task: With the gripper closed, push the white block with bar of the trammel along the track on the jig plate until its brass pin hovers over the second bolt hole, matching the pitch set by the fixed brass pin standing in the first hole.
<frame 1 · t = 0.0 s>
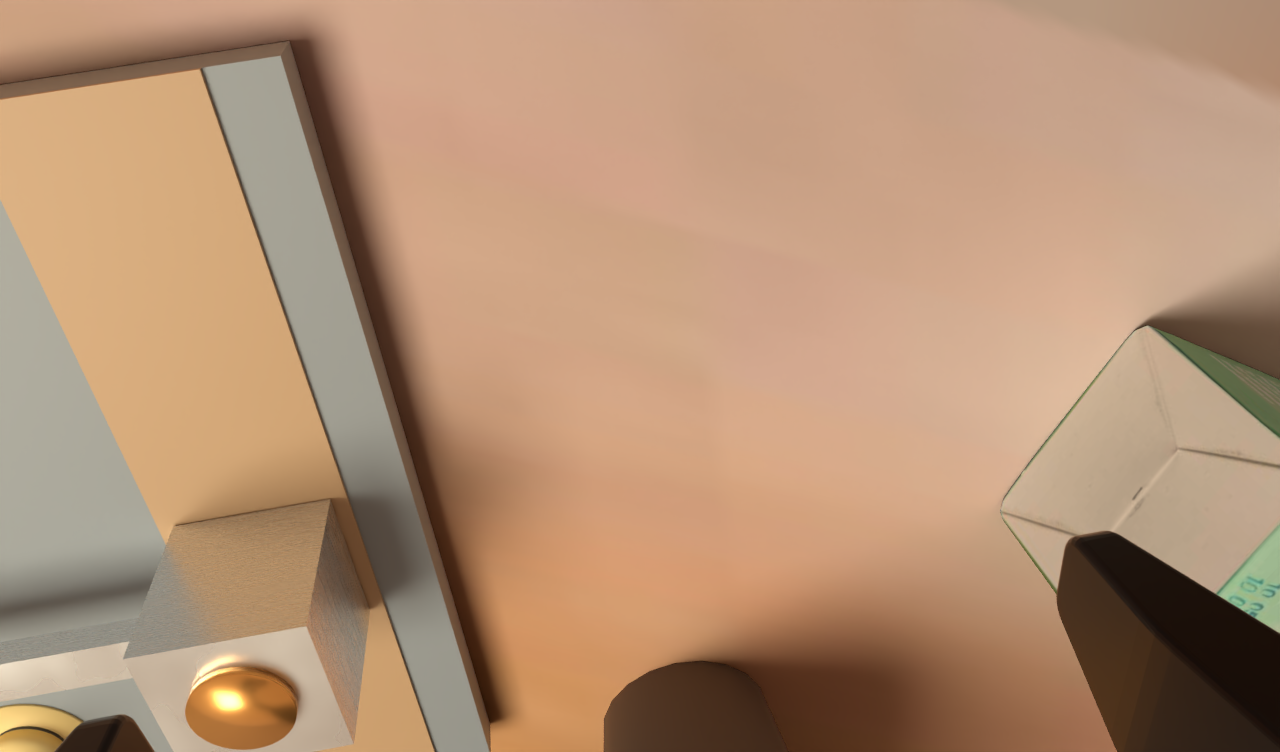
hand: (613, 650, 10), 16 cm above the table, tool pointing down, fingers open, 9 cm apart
jig plate: (128, 503, 28), on the table
white block with bar: (117, 662, 26), point 4 cm above the table, slide at 0.0 cm
coffee cup: (679, 694, 36), on the table, touching arm
box: (1222, 475, 33), on the table
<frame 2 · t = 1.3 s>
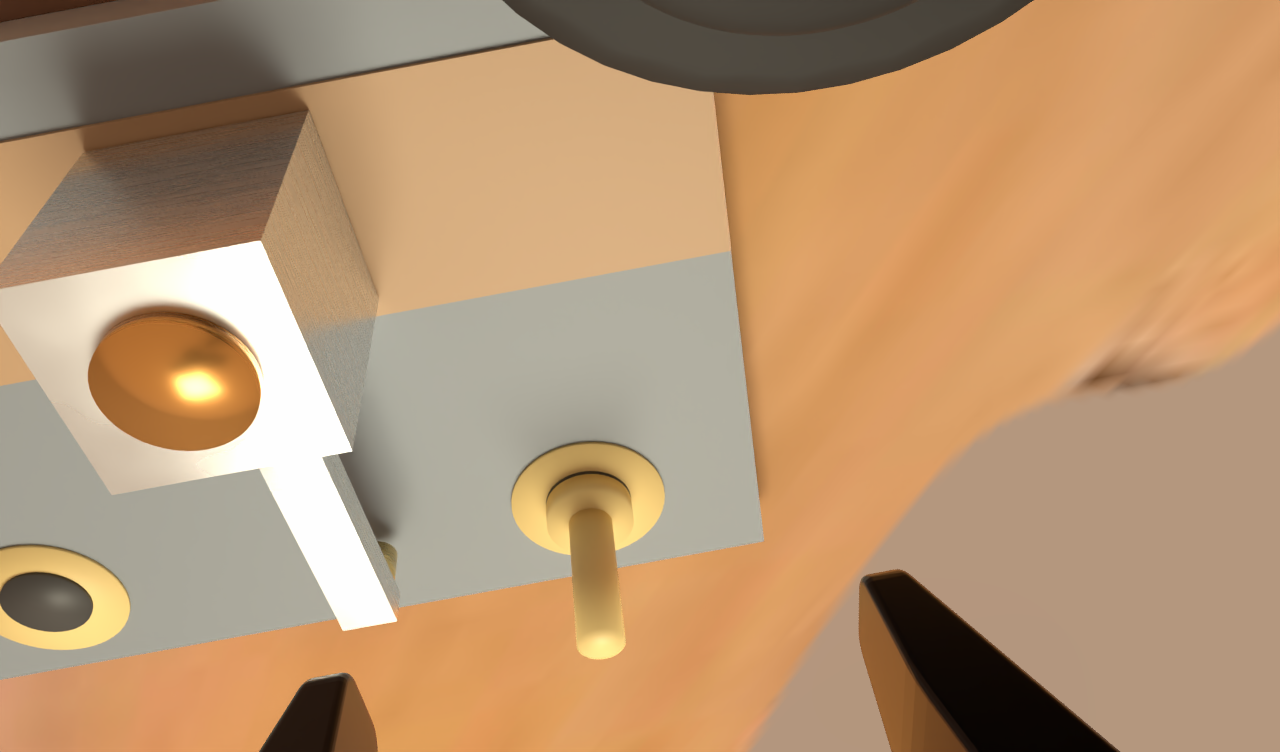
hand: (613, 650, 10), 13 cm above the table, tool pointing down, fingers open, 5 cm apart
jig plate: (224, 356, 23), on the table
white block with bar: (285, 453, 20), point 4 cm above the table, slide at 0.0 cm
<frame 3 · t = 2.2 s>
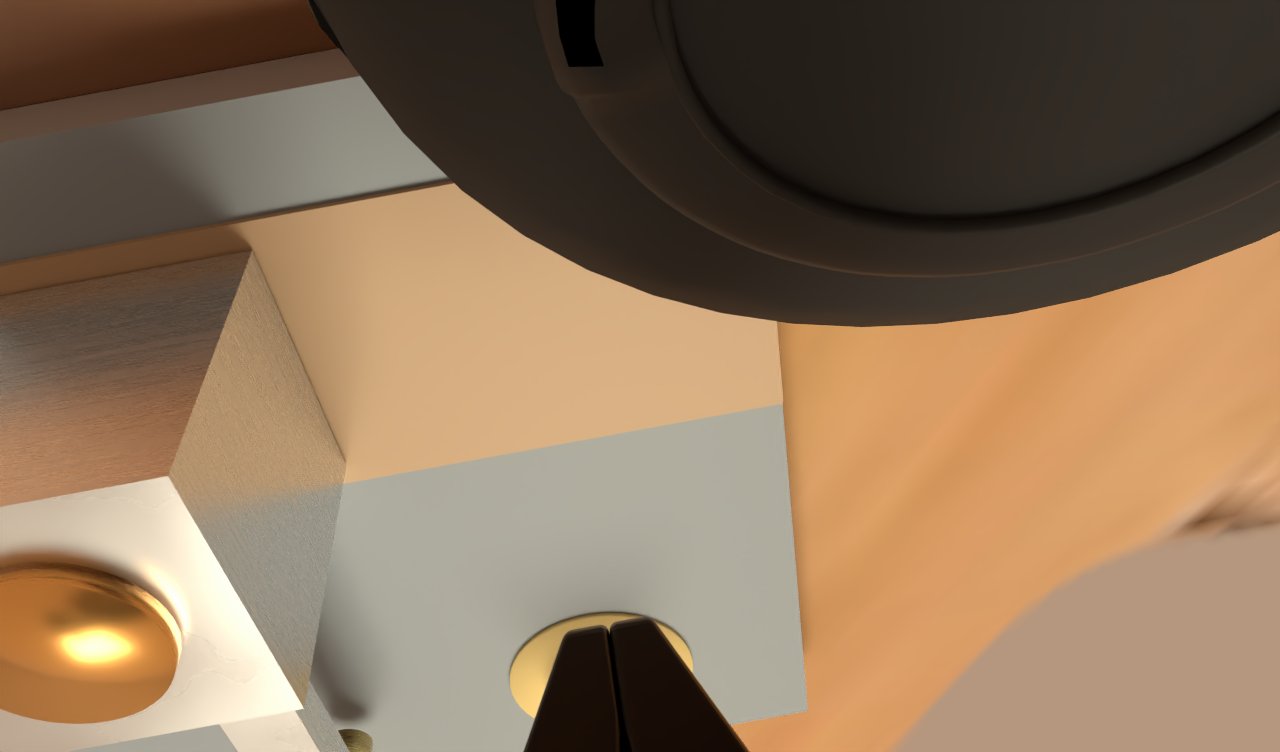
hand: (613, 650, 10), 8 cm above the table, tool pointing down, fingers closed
jig plate: (160, 516, 19), on the table
white block with bar: (226, 670, 16), point 4 cm above the table, slide at 0.0 cm
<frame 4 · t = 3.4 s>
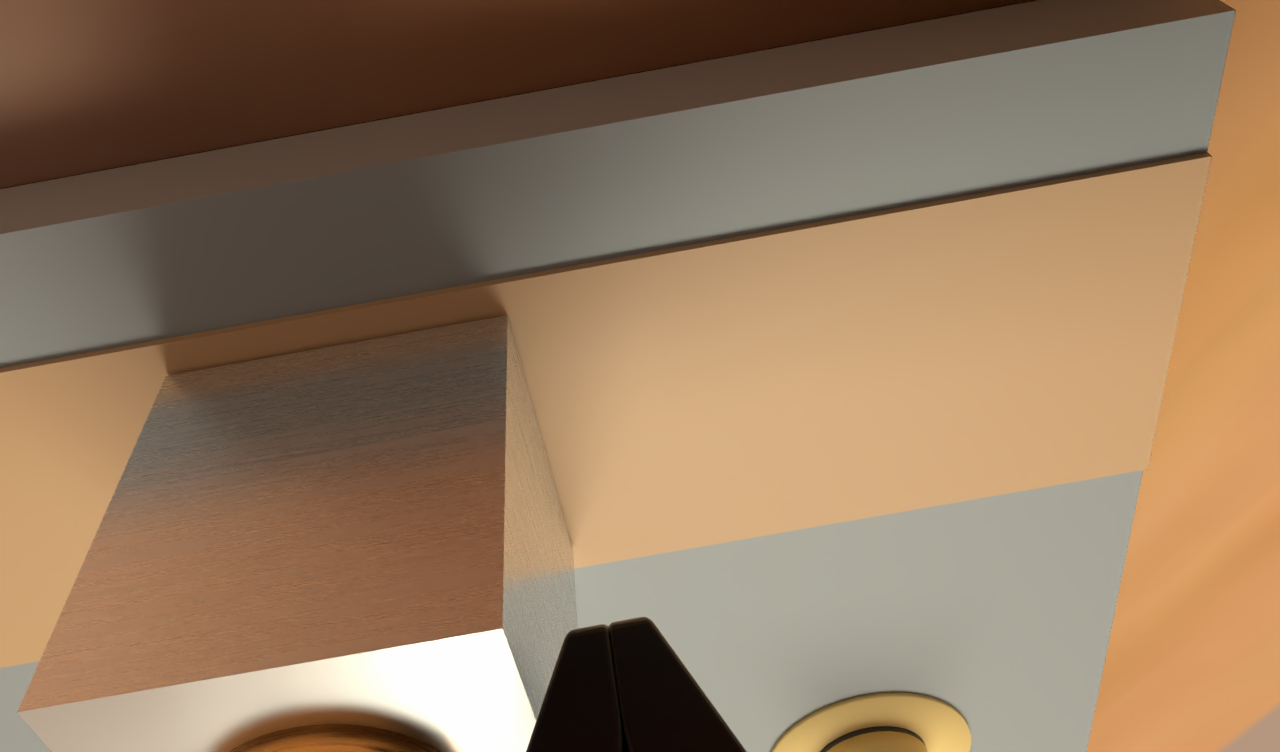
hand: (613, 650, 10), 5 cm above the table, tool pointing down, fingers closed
jig plate: (402, 584, 16), on the table
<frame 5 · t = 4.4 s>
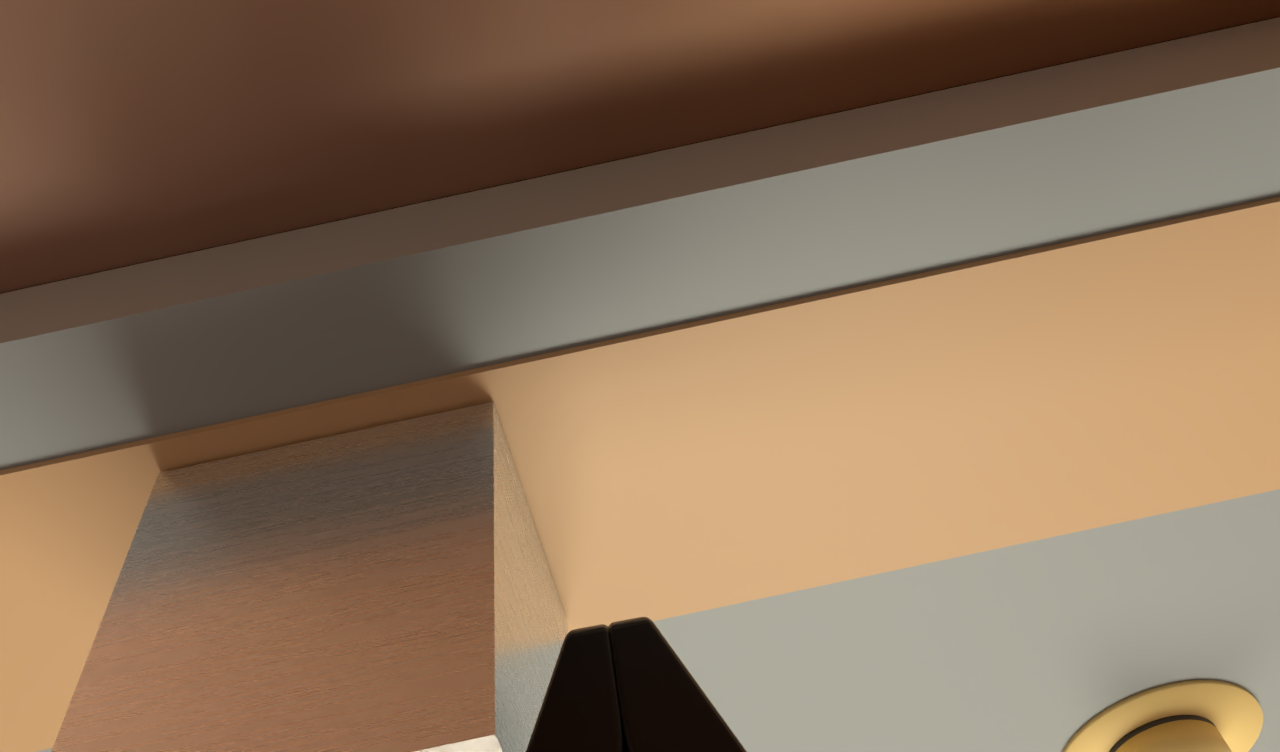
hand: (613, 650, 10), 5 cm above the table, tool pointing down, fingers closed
jig plate: (720, 588, 16), on the table
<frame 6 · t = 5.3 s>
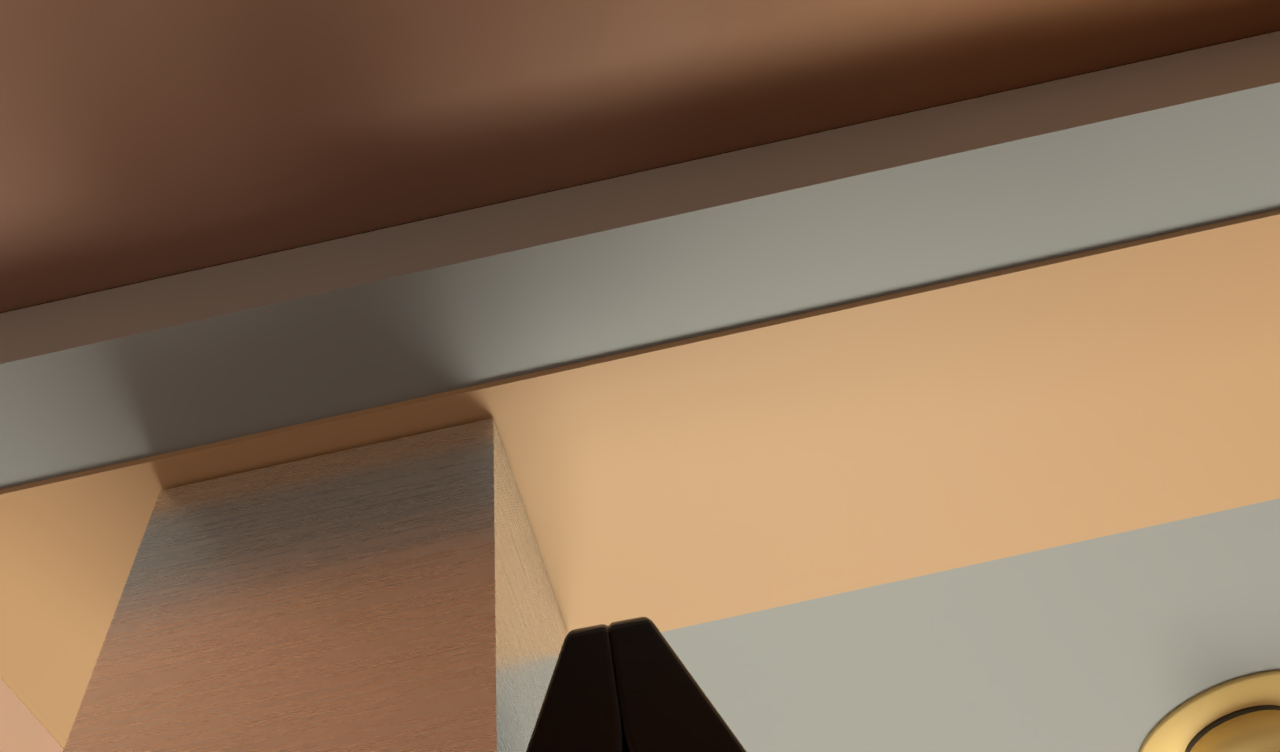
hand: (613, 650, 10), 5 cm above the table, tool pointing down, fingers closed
jig plate: (809, 580, 17), on the table
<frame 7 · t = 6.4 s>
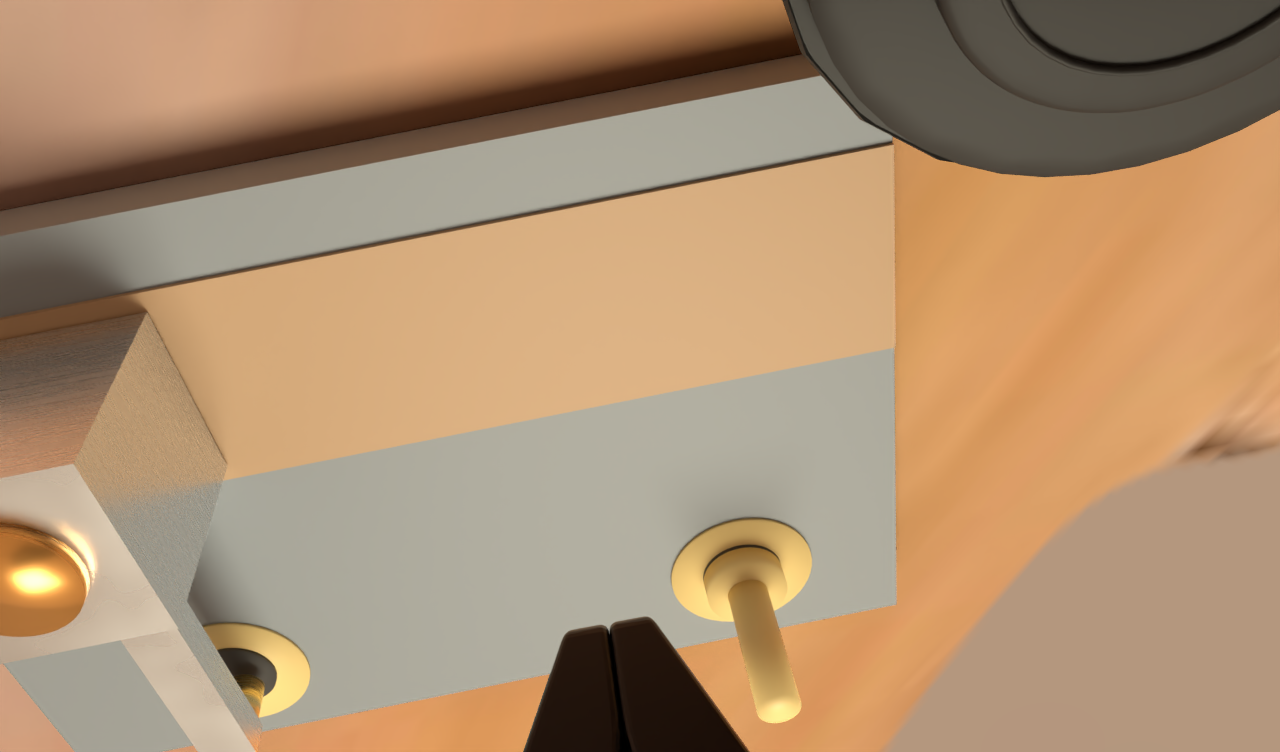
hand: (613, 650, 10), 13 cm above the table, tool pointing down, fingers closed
jig plate: (417, 445, 24), on the table
white block with bar: (135, 615, 21), point 4 cm above the table, slide at 7.7 cm
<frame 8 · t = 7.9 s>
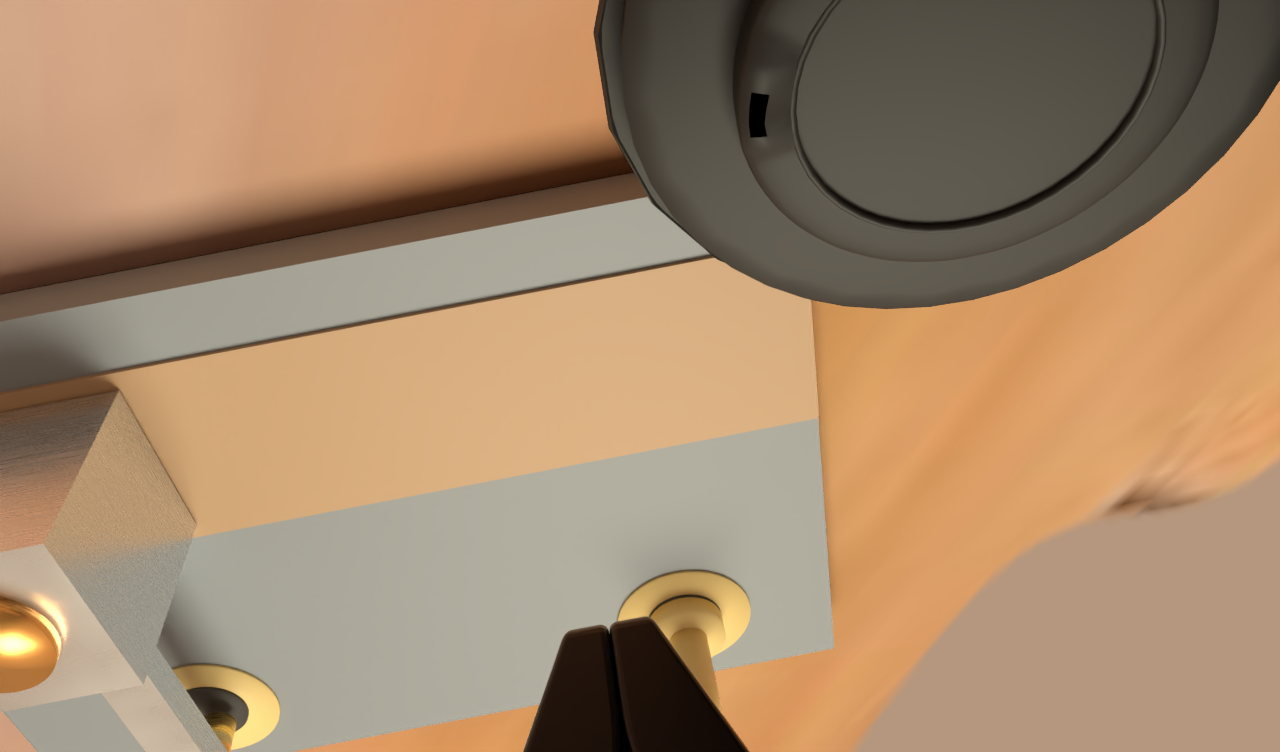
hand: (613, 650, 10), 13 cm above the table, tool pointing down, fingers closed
jig plate: (376, 502, 26), on the table
white block with bar: (110, 664, 23), point 4 cm above the table, slide at 7.7 cm
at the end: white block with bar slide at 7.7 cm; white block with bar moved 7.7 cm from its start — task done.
